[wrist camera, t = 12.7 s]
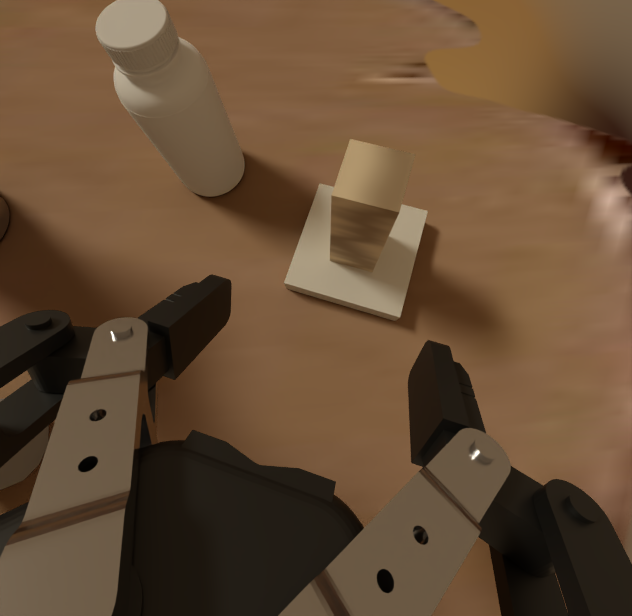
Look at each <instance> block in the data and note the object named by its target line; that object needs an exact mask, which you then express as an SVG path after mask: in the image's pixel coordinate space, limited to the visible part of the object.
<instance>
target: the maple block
mask: <svg viewBox="0 0 632 616" xmlns="http://www.w3.org/2000/svg"><path fill="white" fill-rule="evenodd" d="M414 158H415V154H413V153H408V152H404V151H400V150H395V149H391V148H387V147H382V146H378V145H374V144H369V143H365V142H361V141H356V140H352V139H350V142H349V145H348V148H347V151H346V154H345V157H344V160H343V162H342V165H341V168H340V171H339V174H338V177H337V180H336V183H335V186H334V189H333V192H332V195H331V230H330V261H333V262H337V263H340V264H344V265H348V266H351V267H355V268H358V269H362V270H366V271H369V272H373V270H374V267H375V265H376V263H377V261H378V259H379V256H380V254H381V252H382V250H383V248H384V245H385V243H386V241H387V239H388V237H389V234H390V232H391V230H392V228H393V226H394V223H395V221H396V219H397V217H398V215H399V212H400V209H401V205H402V201H403V198H404V194H405V191H406V187H407V183H408V180H409V176H410V172H411V169H412V165H413V162H414Z"/></svg>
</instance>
